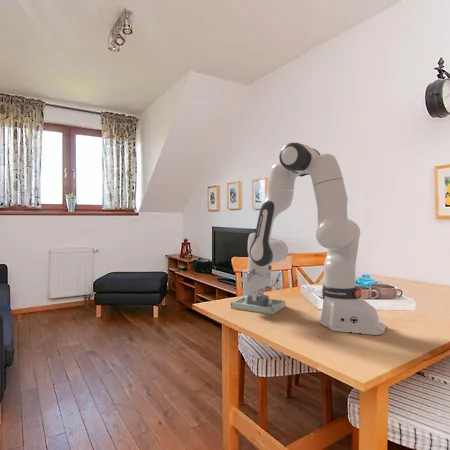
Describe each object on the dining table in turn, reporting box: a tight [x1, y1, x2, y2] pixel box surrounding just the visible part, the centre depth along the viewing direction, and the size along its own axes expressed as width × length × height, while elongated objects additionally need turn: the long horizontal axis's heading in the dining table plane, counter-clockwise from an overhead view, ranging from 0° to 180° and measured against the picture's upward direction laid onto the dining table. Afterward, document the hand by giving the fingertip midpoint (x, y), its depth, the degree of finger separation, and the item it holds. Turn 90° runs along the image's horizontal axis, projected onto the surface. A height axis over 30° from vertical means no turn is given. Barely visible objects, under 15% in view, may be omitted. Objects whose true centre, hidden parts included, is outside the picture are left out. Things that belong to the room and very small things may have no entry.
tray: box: [230, 296, 286, 315], centre depth 145 cm, size 20×14×4 cm
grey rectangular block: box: [248, 294, 270, 307], centre depth 145 cm, size 8×5×4 cm, turn 63°
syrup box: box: [241, 268, 260, 297], centre depth 159 cm, size 6×6×14 cm
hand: (258, 299), depth 145 cm, fingers closed on grey rectangular block, 5 cm apart
